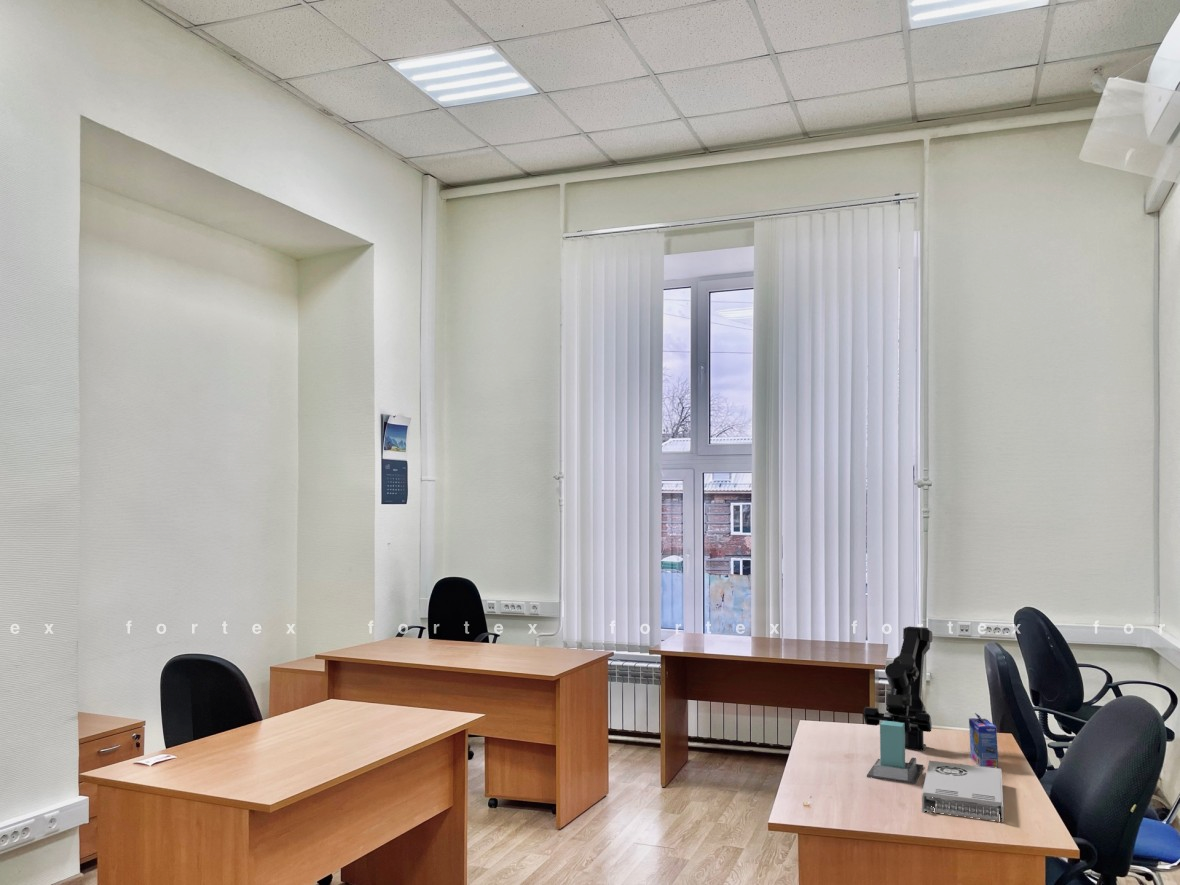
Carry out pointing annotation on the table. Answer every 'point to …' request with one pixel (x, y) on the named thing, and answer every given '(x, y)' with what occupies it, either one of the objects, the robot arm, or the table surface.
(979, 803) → the power supply unit
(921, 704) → the robot arm
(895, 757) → the block
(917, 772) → the chute
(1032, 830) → the table surface
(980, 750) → the ink cartridge box
